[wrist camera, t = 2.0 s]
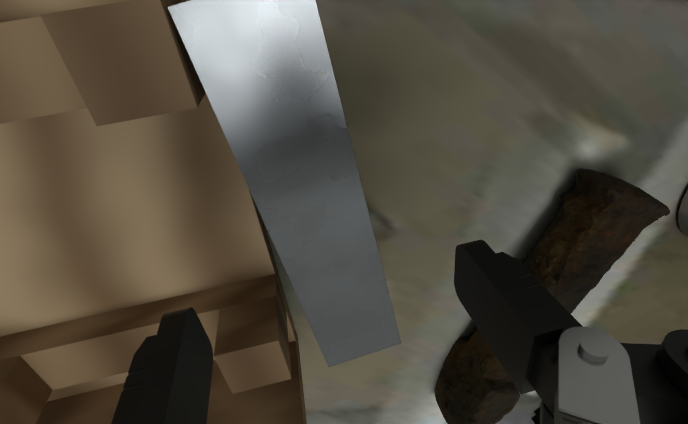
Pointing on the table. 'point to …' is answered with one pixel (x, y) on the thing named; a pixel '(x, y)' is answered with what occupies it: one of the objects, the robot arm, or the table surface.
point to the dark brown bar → (550, 286)
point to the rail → (295, 160)
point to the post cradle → (125, 220)
